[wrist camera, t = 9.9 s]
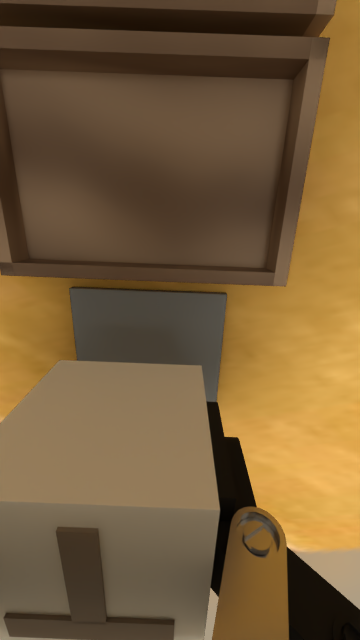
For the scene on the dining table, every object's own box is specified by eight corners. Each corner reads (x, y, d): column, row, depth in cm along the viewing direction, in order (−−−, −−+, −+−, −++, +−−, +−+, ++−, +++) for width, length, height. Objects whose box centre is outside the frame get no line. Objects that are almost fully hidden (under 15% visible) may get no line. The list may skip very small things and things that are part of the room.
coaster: (72, 286, 14) (69, 288, 14) (225, 292, 14) (227, 294, 14) (85, 412, 17) (83, 416, 17) (213, 417, 17) (214, 422, 17)
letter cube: (59, 360, 10) (-75, 502, 5) (201, 365, 10) (220, 514, 5) (73, 467, 12) (-14, 655, 7) (193, 471, 12) (201, 664, 7)
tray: (-9, 58, 11) (-48, 24, 9) (305, 69, 11) (329, 37, 9) (25, 268, 14) (1, 275, 12) (272, 278, 14) (286, 286, 12)
